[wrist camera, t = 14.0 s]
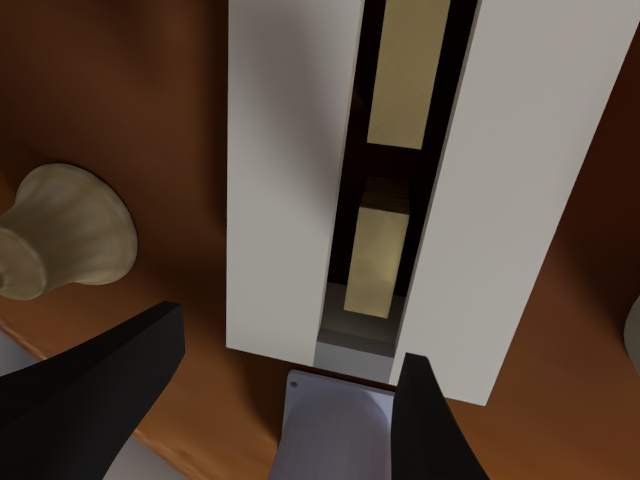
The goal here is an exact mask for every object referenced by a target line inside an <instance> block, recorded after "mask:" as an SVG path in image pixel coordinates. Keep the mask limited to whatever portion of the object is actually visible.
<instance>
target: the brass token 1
mask: <svg viewBox="0 0 640 480" xmlns="http://www.w3.org/2000/svg"><path fill="white" fill-rule="evenodd" d="M449 5H450V0H386V7H385V14H384V21H383V28H382V36H381V43H380V50H379V57H378V65H377V72H376V79H375V86H374V94H373V101H372V108H371V116H370V123H369V130H368V137H367V143H375V144H383V145H391V146H399V147H406V148H414V149H421V147H422V142H423V137H424V132H425V127H426V122H427V117H428V112H429V107H430V102H431V96H432V91H433V86H434V81H435V76H436V71H437V66H438V61H439V56H440V51H441V46H442V41H443V36H444V31H445V26H446V21H447V15H448V10H449Z"/></svg>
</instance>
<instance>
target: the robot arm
mask: <svg viewBox="0 0 640 480" xmlns="http://www.w3.org/2000/svg"><path fill="white" fill-rule="evenodd" d="M184 354H185V339H184V323H183V308H182V304H178V303H174V302H169V301H163V302H161V303H159V304H157V305H155V306H153V307H151V308H149V309H147V310H146V311H144V312H142V313H140V314H138V315H136V316H134V317H133V318H131V319H129V320H127V321H125V322H123V323H121V324H119V325H118V326H116V327H114V328H112V329H110V330H108V331H106V332H104V333H102V334H100V335H98V336H96V337H94V338H92V339H90V340H88V341H86V342H84V343H82V344H80V345H78V346H75V347H73V348H71V349H69V350H67V351H65V352H63V353H60V354H58V355H56V356H53V357H51V358H49V359H46V360H44V361H41V362H39V363H36V364H34V365H32V366H29V367H26V368H24V369H21V370H18V371H16V372H12V373H9V374H7V375H4V376H1V377H0V480H102V479H103V477H104V476H105V474H106V472H107V471H108V469H109V467H110V466H111V464H112V462H113V461H114V459H115V457H116V456H117V454H118V453H119V451H120V450H121V448H122V447H123V445H124V443H125V442H126V441H127V440H128V438H129V437H130V435H131V434H132V433H133V431H134V430H135V429H136V427H137V426H138V425H139V423H140V422H141V420H142V419H143V418H144V416H145V415H146V414H147V412H148V411H149V409H150V408H151V407H152V405H153V404H154V403H155V401H156V400H157V398H158V397H159V396H160V394H161V393H162V391H163V390H164V389H165V387H166V386H167V384H168V383H169V382H170V380H171V378H172V377H173V375H174V373H175V371H176V369H177V368H178V366H179V364H180V362H181V360H182V358H183V356H184ZM293 382H296V383H293ZM268 480H490V479H489V477H488V476H487V474H486V473H485V471H484V470H483V468H482V466H481V465H480V463H479V462H478V460H477V458H476V457H475V455H474V453H473V452H472V450H471V448H470V446H469V444H468V443H467V441H466V439H465V437H464V436H463V434H462V432H461V430H460V428H459V426H458V424H457V422H456V420H455V418H454V416H453V414H452V412H451V410H450V408H449V406H448V404H447V402H446V400H445V398H444V396H443V393H442V391H441V389H440V387H439V384H438V382H437V379H436V377H435V375H434V372H433V369H432V367H431V364H430V361H429V359H428V358H427V357H426V356H422V355H417V354H413V353H408V352H406V353H405V357H404V361H403V365H402V369H401V372H400V376H399V380H398V384H397V387H396V391H395V392H391V391H386V390H382V389H378V388H373V387H369V386H365V385H360V384H356V383H352V382H347V381H343V380H339V379H334V378H330V377H325V376H321V375H317V374H312V373H308V372H304V371H299V370H291V371H290V372H289V374H288V377H287V386H286V396H285V406H284V417H283V427H282V437H281V440H280V444H279V447H278V450H277V453H276V456H275V459H274V462H273V465H272V468H271V471H270V474H269V477H268Z"/></svg>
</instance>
